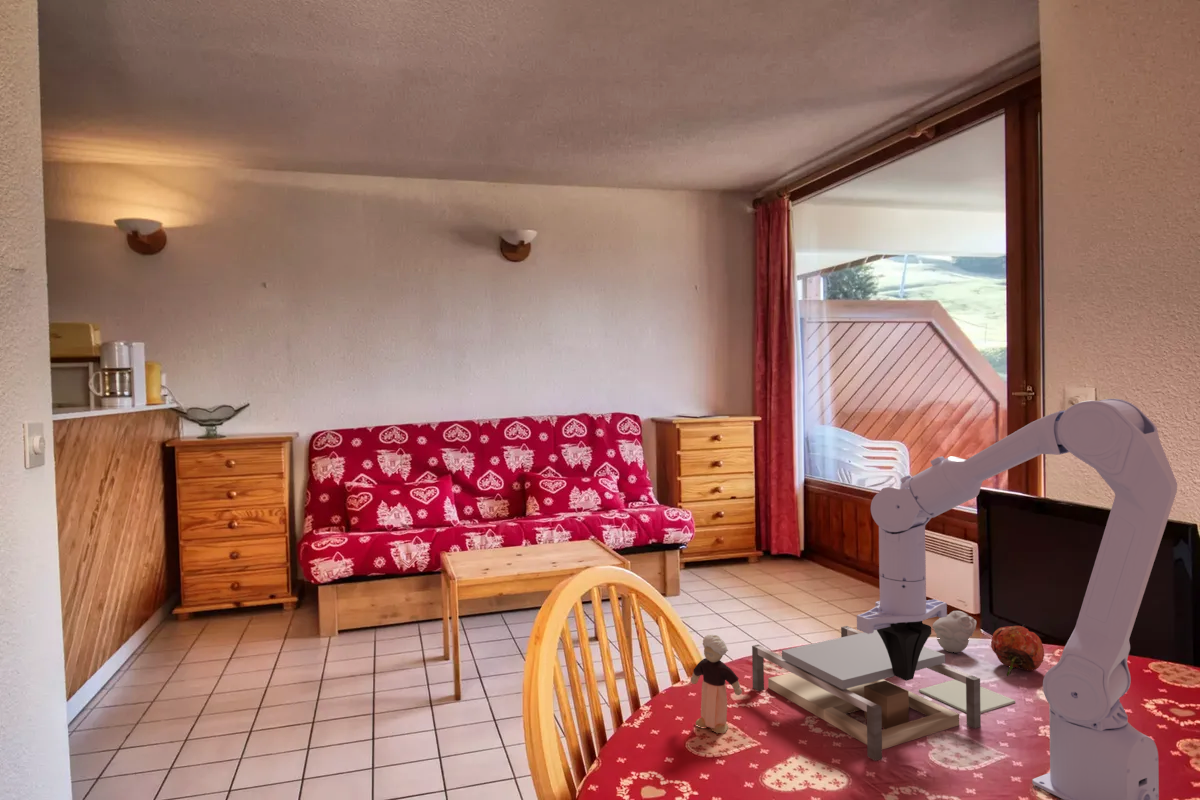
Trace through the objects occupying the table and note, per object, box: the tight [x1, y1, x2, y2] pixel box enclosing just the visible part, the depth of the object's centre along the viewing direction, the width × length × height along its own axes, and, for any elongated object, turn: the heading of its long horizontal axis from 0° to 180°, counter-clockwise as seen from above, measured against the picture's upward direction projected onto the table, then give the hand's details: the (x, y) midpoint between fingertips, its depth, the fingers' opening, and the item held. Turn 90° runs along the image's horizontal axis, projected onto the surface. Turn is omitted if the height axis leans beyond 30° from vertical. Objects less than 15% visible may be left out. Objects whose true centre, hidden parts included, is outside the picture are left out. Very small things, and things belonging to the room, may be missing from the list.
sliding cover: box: [781, 630, 946, 689], centre depth 101 cm, size 12×19×1 cm, turn 115°
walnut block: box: [864, 680, 910, 729], centre depth 98 cm, size 4×4×4 cm
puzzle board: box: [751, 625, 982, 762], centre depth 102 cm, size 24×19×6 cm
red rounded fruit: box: [990, 624, 1045, 677], centre depth 114 cm, size 7×7×10 cm
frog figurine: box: [931, 610, 977, 654], centre depth 122 cm, size 6×7×7 cm
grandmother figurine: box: [690, 634, 743, 734], centre depth 96 cm, size 8×4×13 cm, turn 62°
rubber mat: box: [918, 679, 1016, 714], centre depth 104 cm, size 9×9×1 cm
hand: (903, 677), depth 95 cm, fingers closed, pressing on sliding cover
